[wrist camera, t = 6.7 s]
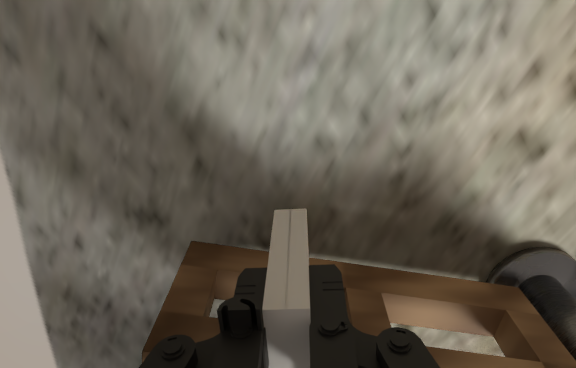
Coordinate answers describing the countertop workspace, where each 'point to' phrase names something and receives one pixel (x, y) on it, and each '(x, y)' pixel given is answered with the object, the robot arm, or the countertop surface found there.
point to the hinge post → (545, 287)
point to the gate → (374, 307)
